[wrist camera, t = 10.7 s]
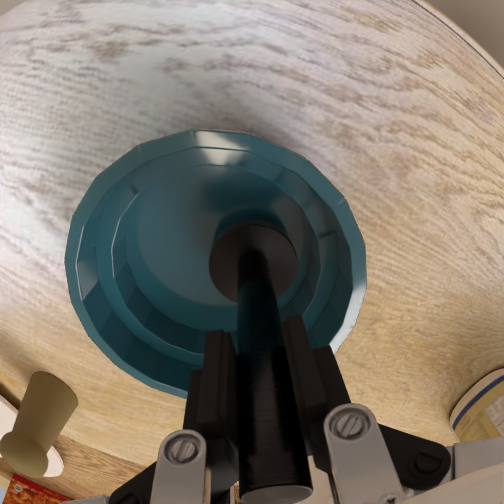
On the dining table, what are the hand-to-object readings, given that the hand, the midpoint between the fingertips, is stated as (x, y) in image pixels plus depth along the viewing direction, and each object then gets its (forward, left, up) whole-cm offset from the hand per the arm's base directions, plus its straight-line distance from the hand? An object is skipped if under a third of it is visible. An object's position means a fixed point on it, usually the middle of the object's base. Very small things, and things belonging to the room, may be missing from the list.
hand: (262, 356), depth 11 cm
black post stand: (0, 0, -9) cm, 9 cm away
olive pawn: (+12, -24, -11) cm, 29 cm away
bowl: (0, -2, -11) cm, 11 cm away
